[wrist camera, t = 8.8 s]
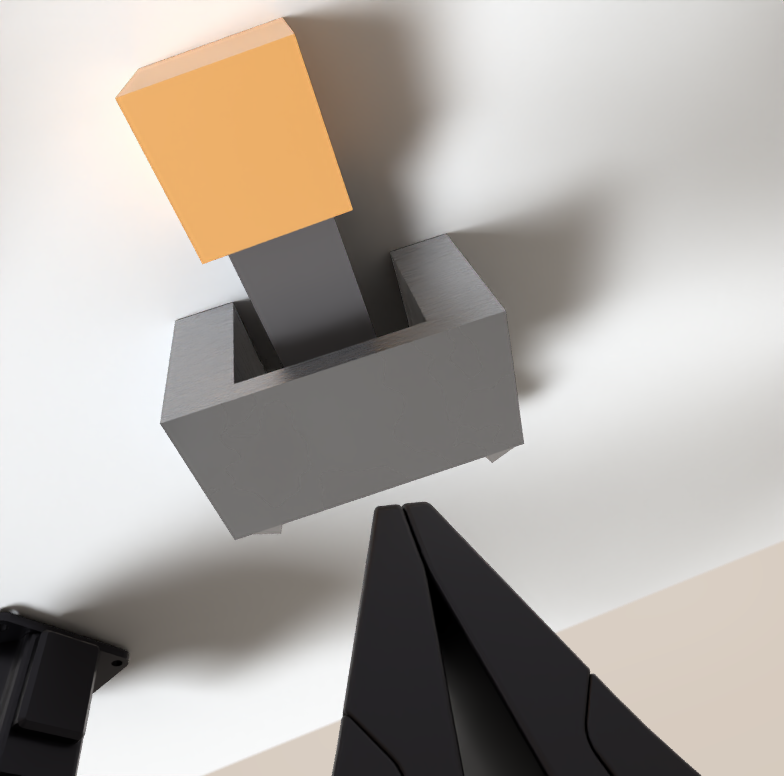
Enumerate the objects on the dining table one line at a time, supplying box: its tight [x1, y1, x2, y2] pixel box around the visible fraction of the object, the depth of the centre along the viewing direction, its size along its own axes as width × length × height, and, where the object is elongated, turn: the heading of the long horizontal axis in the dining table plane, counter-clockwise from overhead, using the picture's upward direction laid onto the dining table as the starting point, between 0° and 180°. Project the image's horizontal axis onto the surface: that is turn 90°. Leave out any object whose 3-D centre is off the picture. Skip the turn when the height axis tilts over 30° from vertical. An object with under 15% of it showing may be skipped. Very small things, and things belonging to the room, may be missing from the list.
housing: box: [160, 234, 524, 540], centre depth 20 cm, size 8×10×6 cm
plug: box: [115, 17, 377, 368], centre depth 19 cm, size 14×4×4 cm, turn 16°
